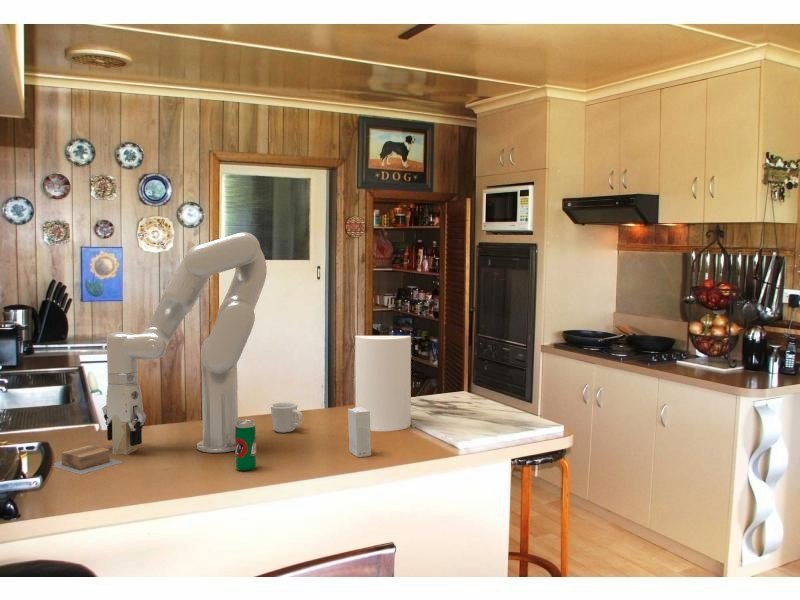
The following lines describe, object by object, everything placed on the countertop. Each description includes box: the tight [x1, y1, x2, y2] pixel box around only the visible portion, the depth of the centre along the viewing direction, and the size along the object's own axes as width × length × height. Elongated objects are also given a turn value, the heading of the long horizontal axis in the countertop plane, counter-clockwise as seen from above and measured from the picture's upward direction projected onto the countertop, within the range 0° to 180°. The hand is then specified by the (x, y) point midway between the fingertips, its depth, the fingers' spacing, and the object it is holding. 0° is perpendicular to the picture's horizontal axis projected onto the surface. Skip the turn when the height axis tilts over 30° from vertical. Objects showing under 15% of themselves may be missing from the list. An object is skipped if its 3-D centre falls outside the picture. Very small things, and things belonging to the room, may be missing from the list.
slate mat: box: [53, 458, 124, 475], centre depth 178 cm, size 14×12×1 cm
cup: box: [270, 401, 303, 434], centre depth 212 cm, size 11×8×8 cm
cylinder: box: [354, 335, 412, 432], centre depth 220 cm, size 17×17×28 cm
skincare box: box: [347, 407, 372, 458], centre depth 189 cm, size 6×4×12 cm
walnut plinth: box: [60, 444, 111, 470], centre depth 178 cm, size 8×8×3 cm
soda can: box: [234, 419, 257, 472], centre depth 176 cm, size 5×5×12 cm
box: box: [111, 415, 138, 456], centre depth 188 cm, size 5×4×11 cm
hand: (124, 441), depth 188 cm, fingers open, 9 cm apart
